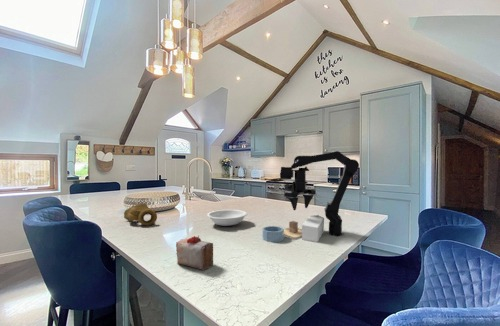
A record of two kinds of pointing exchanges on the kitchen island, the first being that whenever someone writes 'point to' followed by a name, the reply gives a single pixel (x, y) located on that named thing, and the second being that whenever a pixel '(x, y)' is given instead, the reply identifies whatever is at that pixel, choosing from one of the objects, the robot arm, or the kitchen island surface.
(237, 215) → the soup bowl
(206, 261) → the food item
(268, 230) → the ceramic bowl
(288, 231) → the oak lid
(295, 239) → the rubber mat
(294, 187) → the robot arm
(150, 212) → the brown looped sculpture
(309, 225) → the milk carton
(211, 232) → the kitchen island surface
